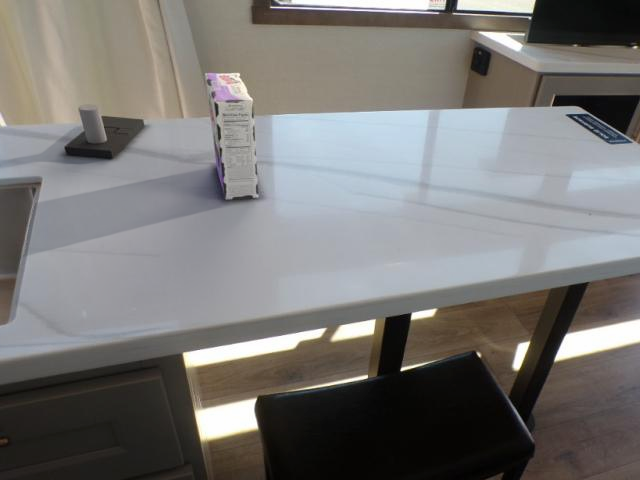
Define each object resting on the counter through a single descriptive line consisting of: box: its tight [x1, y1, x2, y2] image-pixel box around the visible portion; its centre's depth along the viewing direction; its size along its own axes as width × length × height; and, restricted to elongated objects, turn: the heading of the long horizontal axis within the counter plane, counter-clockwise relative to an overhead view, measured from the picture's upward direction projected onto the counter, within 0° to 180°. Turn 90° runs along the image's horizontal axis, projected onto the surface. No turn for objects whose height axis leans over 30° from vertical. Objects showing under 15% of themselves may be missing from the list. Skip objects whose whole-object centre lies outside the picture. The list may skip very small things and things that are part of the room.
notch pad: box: [101, 115, 146, 142], centre depth 102 cm, size 8×8×2 cm
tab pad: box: [64, 103, 131, 159], centre depth 95 cm, size 8×10×8 cm
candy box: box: [204, 72, 260, 201], centre depth 86 cm, size 14×6×16 cm, turn 21°
